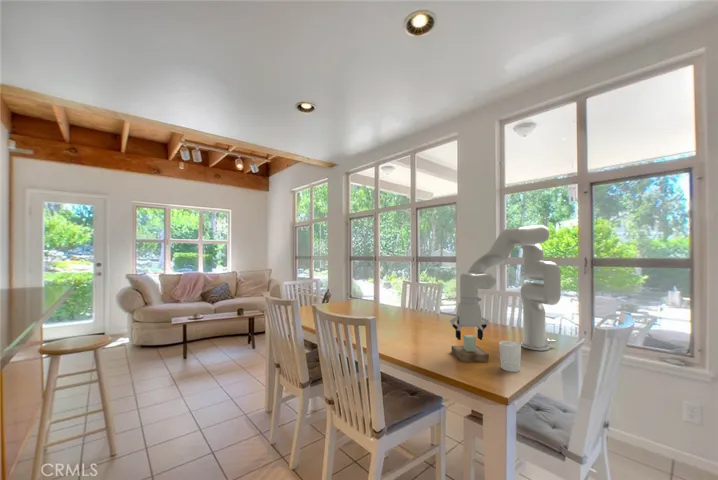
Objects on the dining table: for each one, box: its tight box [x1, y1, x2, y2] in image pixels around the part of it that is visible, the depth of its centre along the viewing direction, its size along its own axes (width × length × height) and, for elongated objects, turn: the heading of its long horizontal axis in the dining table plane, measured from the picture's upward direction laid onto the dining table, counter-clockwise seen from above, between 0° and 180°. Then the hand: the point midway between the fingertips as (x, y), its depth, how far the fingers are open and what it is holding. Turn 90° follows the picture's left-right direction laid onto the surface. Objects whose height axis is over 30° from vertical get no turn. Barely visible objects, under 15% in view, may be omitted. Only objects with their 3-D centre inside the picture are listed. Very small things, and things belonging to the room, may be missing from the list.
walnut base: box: [451, 345, 490, 363], centre depth 136 cm, size 12×12×3 cm
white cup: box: [498, 340, 522, 373], centre depth 122 cm, size 8×8×10 cm
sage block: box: [463, 334, 477, 351], centre depth 136 cm, size 4×4×6 cm
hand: (469, 339), depth 136 cm, fingers open, 9 cm apart
